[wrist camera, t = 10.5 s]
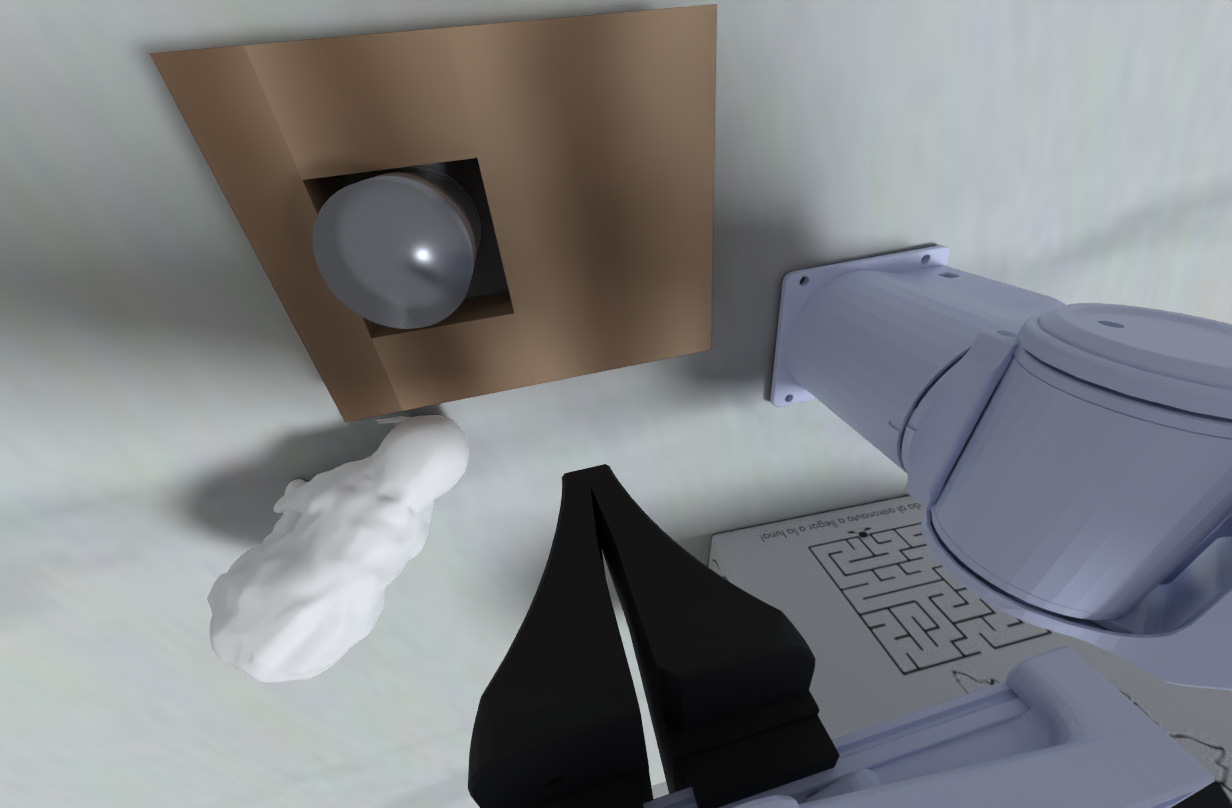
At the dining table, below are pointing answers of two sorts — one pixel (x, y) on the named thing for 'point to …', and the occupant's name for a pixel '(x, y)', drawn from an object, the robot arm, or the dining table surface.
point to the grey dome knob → (399, 246)
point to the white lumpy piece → (334, 554)
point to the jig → (513, 180)
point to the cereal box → (928, 630)
